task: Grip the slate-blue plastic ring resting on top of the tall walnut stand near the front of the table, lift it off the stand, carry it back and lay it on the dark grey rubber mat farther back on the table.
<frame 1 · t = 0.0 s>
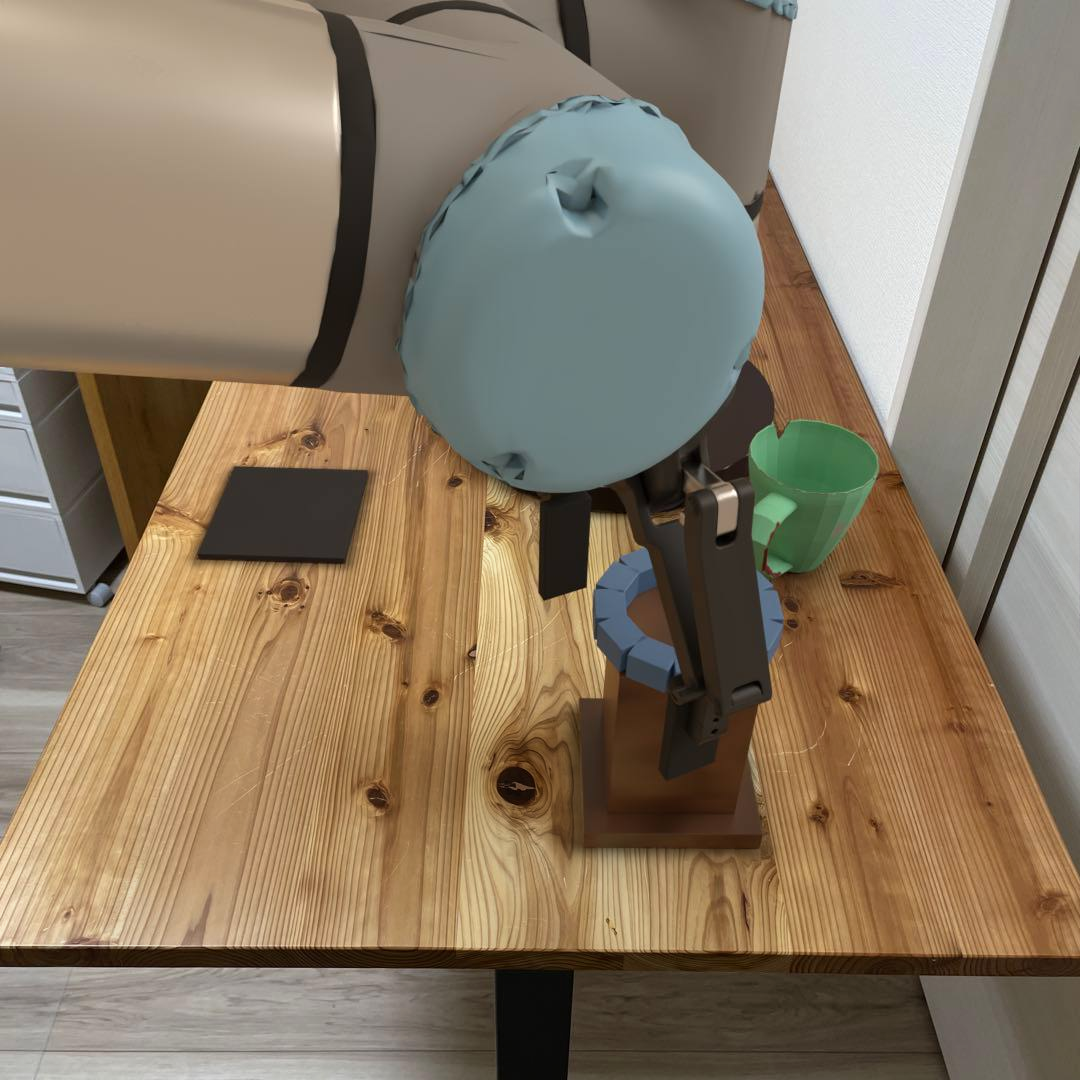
hand: (619, 671, 56), 16 cm above the table, tool pointing down, fingers open, 13 cm apart
mug: (779, 571, 87), on the table
disc: (613, 419, 103), on the table
decorative flower: (633, 242, 134), on the table
mat: (287, 515, 91), on the table
teapot: (488, 167, 152), on the table
stand: (663, 776, 71), on the table
container: (447, 258, 130), on the table
ring: (684, 626, 62), point 14 cm above the table, touching stand
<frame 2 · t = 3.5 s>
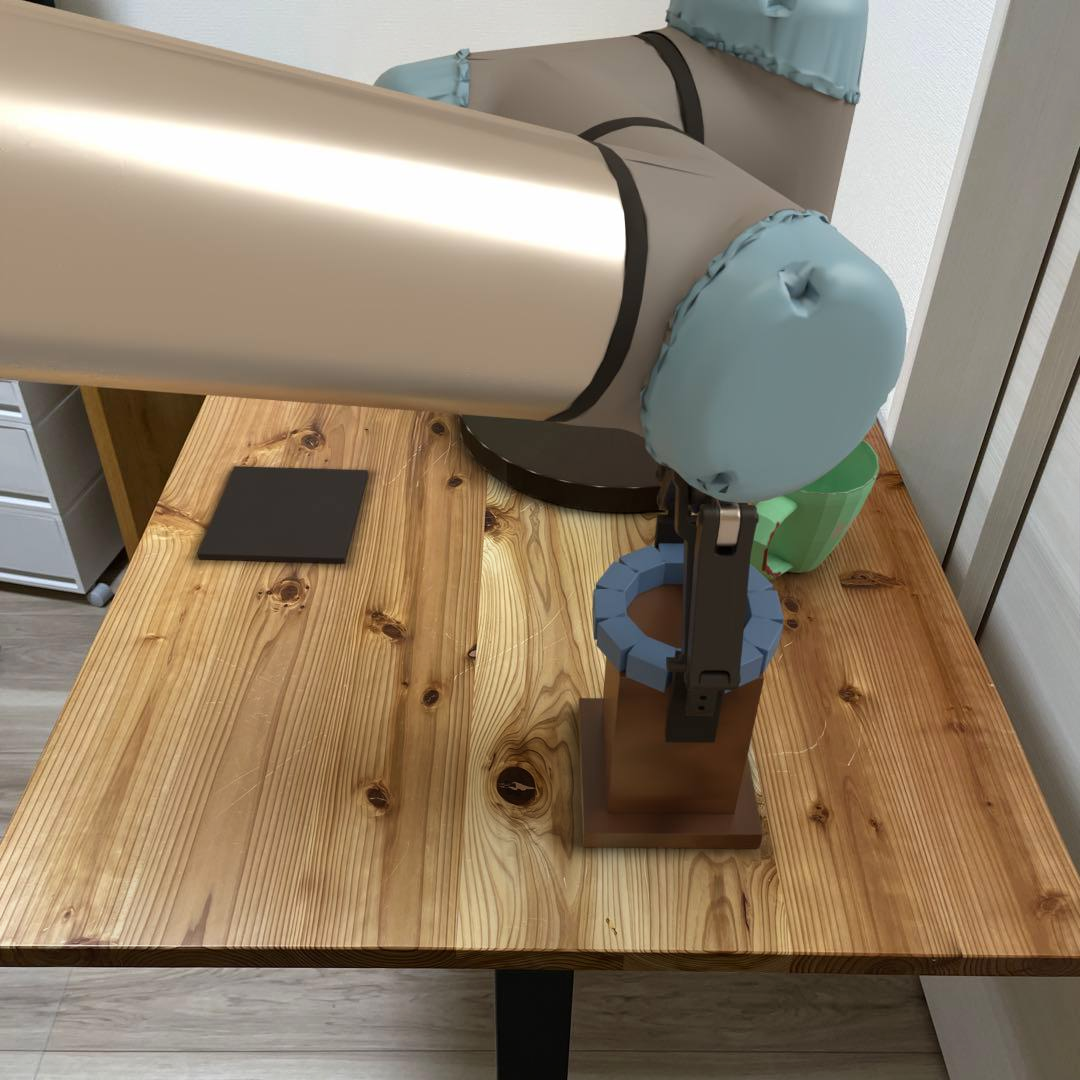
hand: (679, 662, 64), 11 cm above the table, tool pointing down, fingers closed on ring, 11 cm apart
ring: (684, 626, 62), point 14 cm above the table, touching gripper, stand
everything else where it was.
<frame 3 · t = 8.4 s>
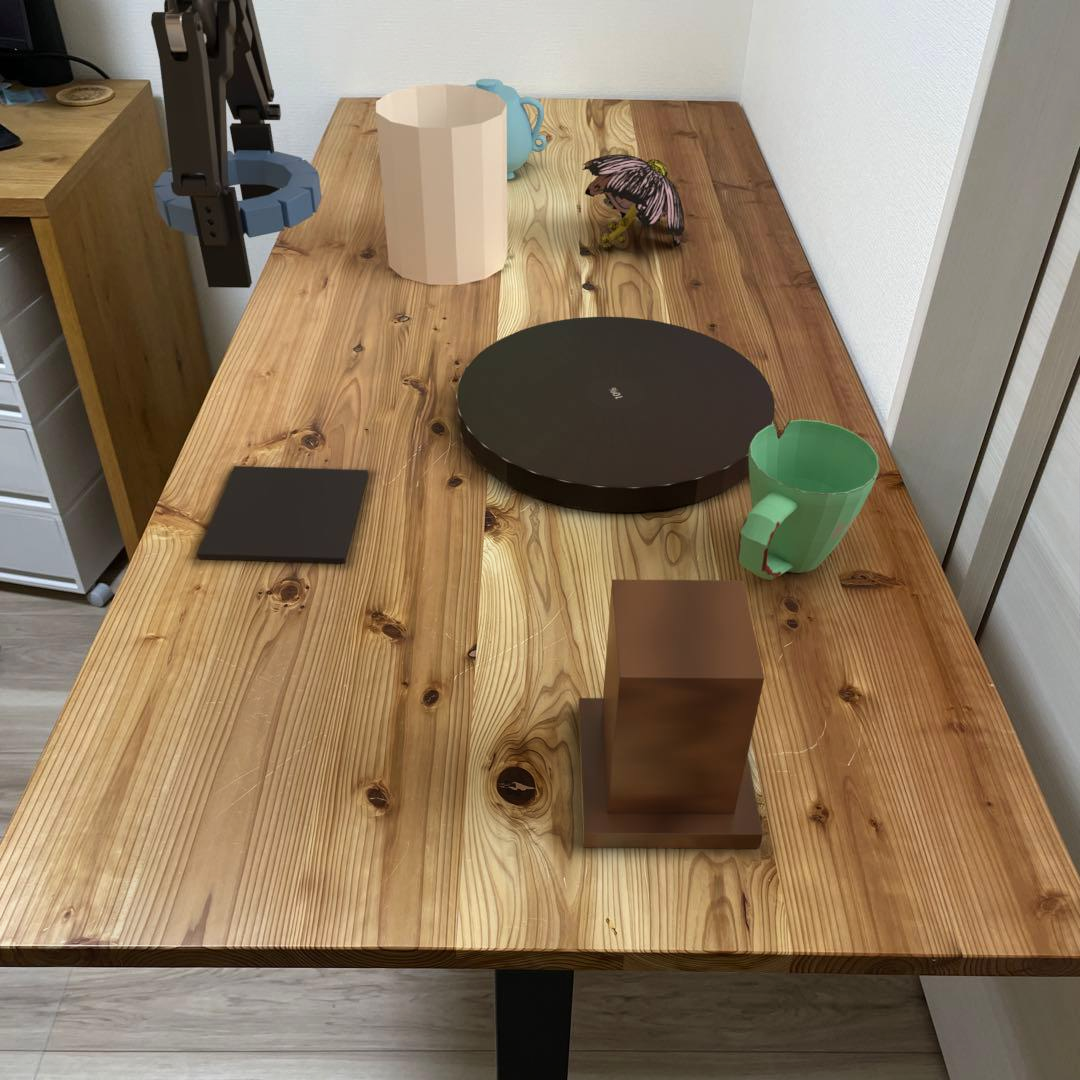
hand: (248, 247, 75), 25 cm above the table, tool pointing down, fingers closed on ring, 11 cm apart
ring: (241, 205, 73), point 28 cm above the table, touching gripper
everything else where it was.
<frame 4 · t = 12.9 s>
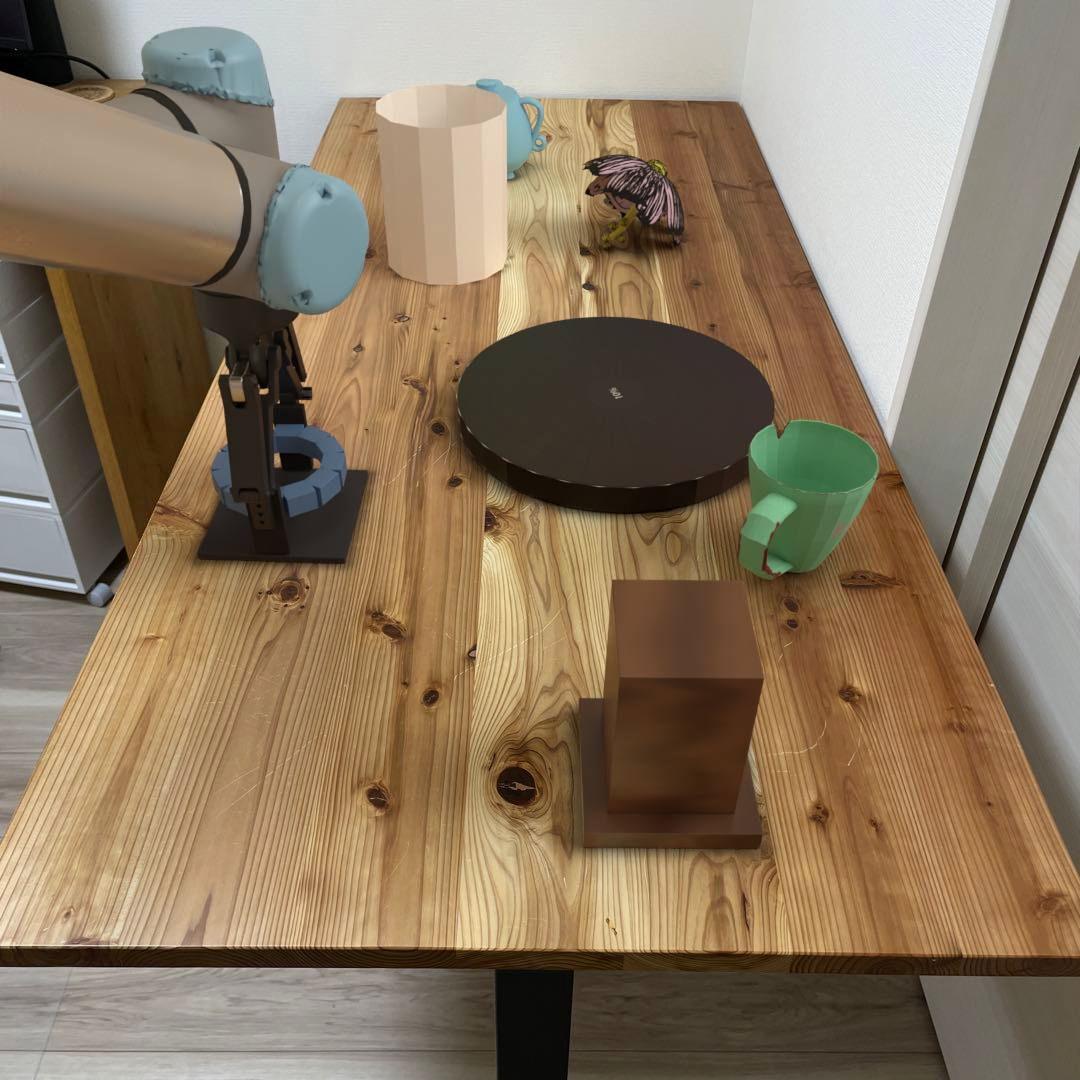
hand: (286, 507, 91), 1 cm above the table, tool pointing down, fingers closed on ring, 11 cm apart
ring: (281, 477, 89), point 4 cm above the table, touching gripper
everything else where it was.
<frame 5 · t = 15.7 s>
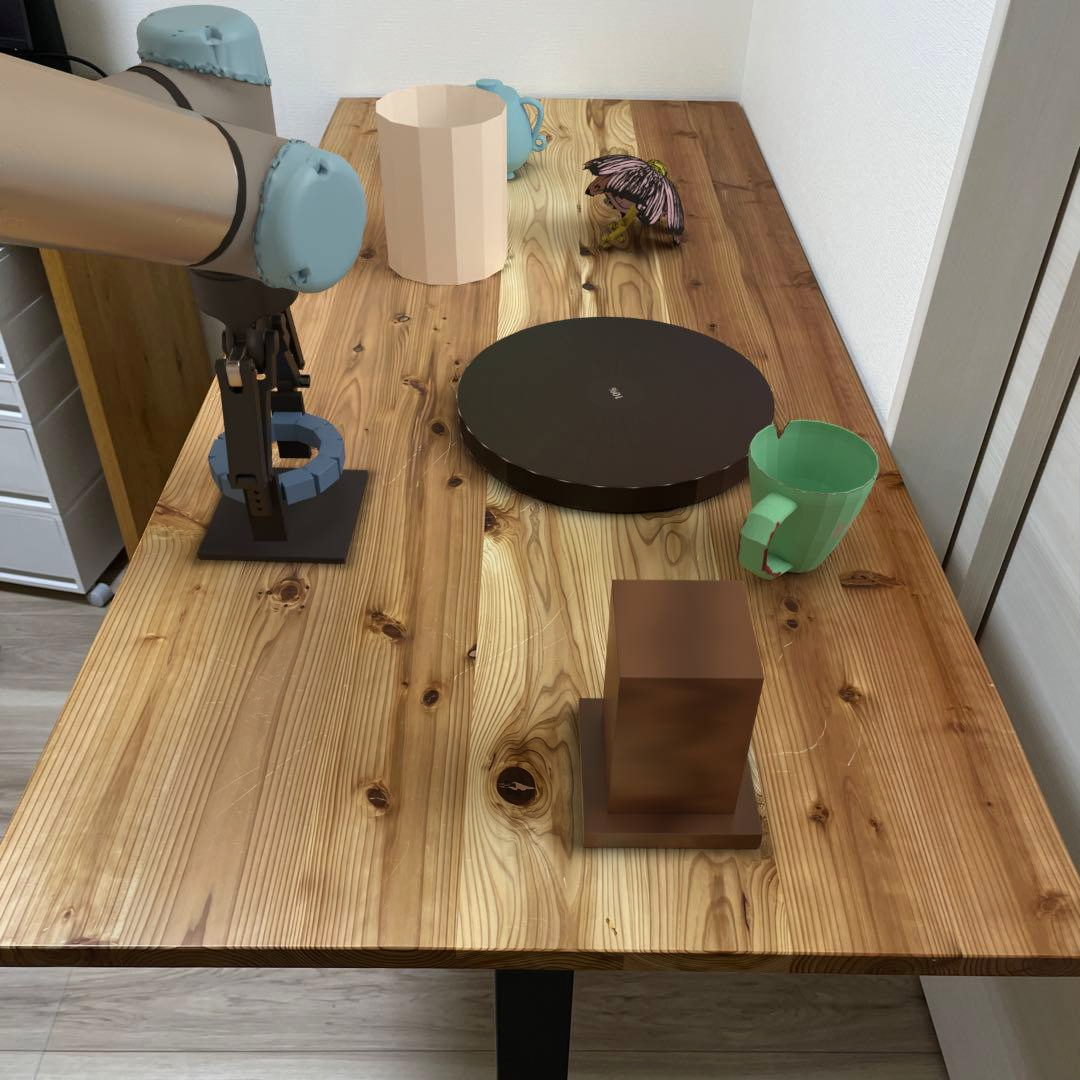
hand: (284, 495, 90), 2 cm above the table, tool pointing down, fingers closed on ring, 10 cm apart
ring: (279, 465, 88), point 5 cm above the table, touching gripper
everything else where it was.
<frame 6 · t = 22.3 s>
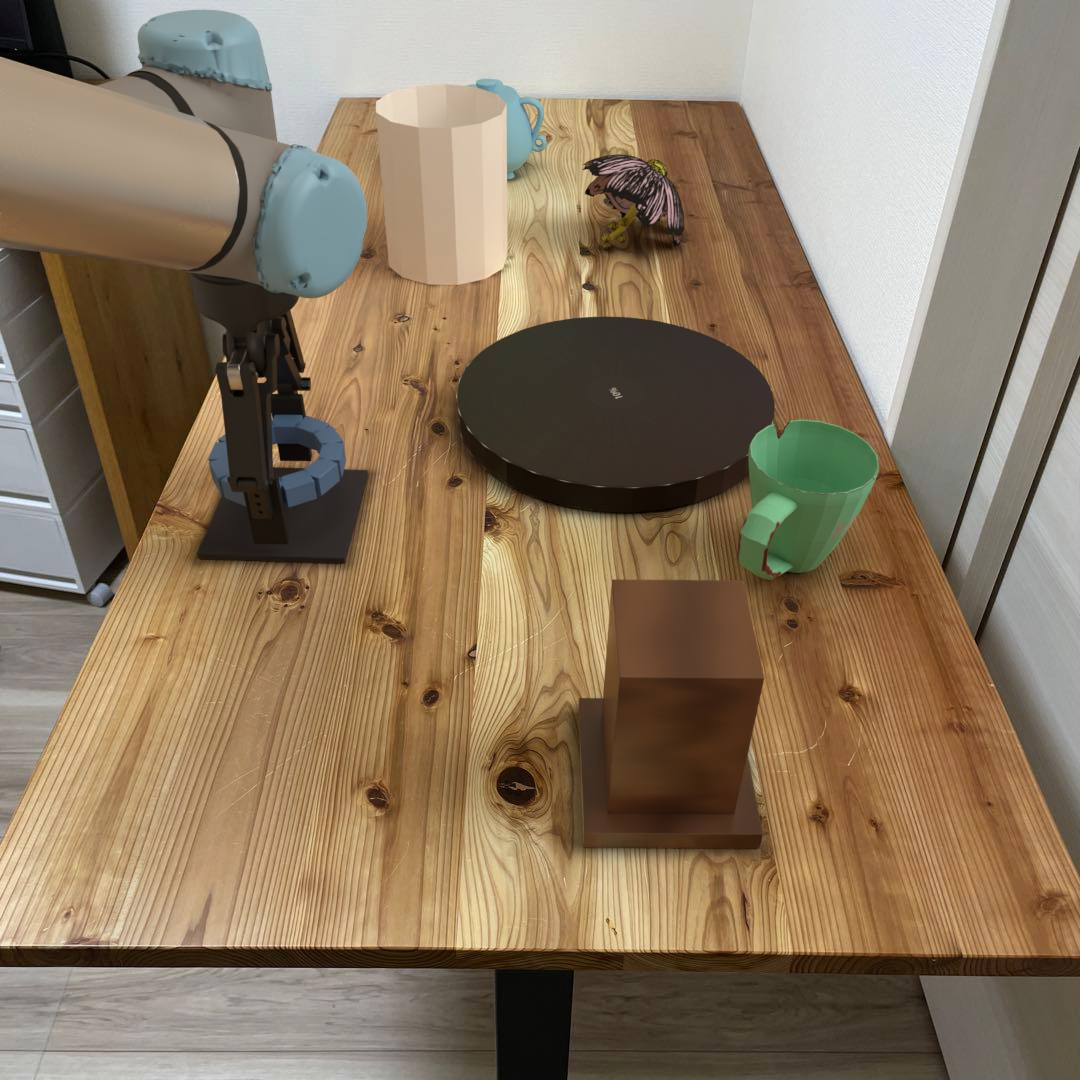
hand: (284, 498, 90), 2 cm above the table, tool pointing down, fingers closed on ring, 10 cm apart
ring: (280, 468, 88), point 5 cm above the table, touching gripper
everything else where it was.
when the fingers open (3 cm above the table, at t = 28.3 s): ring drops 5 cm, resting on mat.
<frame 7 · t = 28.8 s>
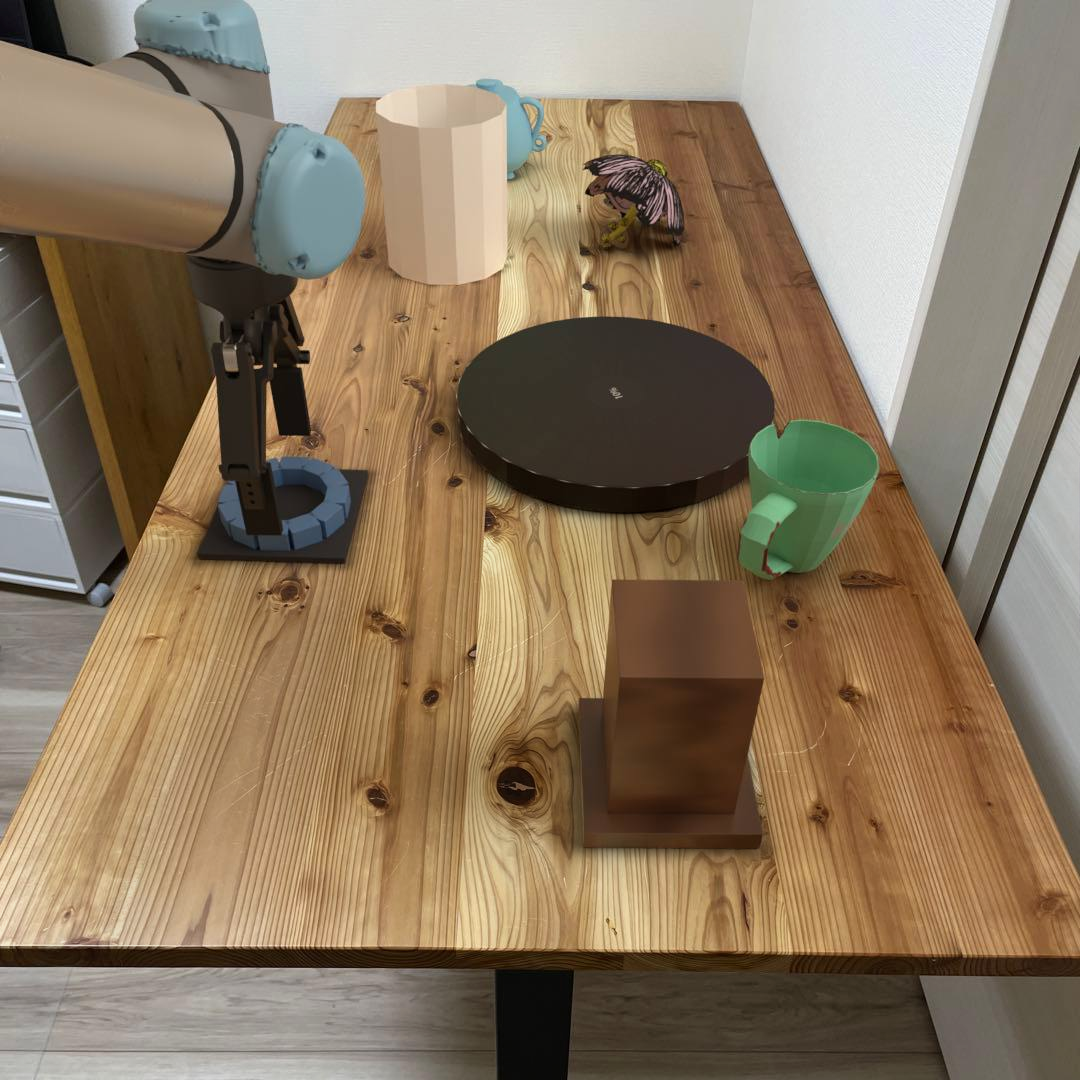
hand: (281, 480, 89), 4 cm above the table, tool pointing down, fingers open, 13 cm apart
ring: (286, 510, 91), point 1 cm above the table, touching mat
everything else where it was.
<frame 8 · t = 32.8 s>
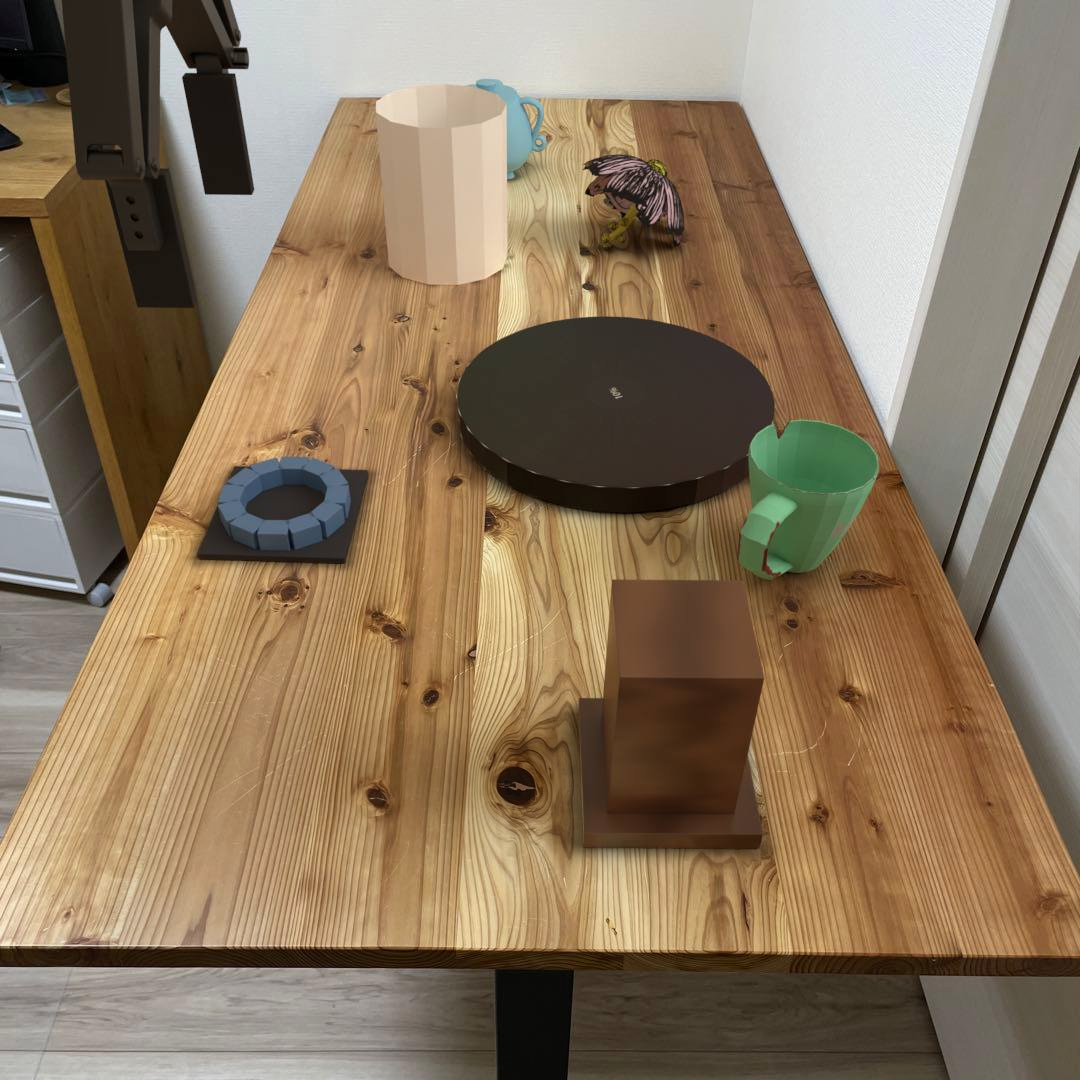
hand: (201, 243, 57), 33 cm above the table, tool pointing down, fingers open, 13 cm apart
nothing on the table moved.
at the end: ring inside the target area on the mat (0.1 cm from its centre), point 0.6 cm above the mat's base; ring touching mat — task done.
